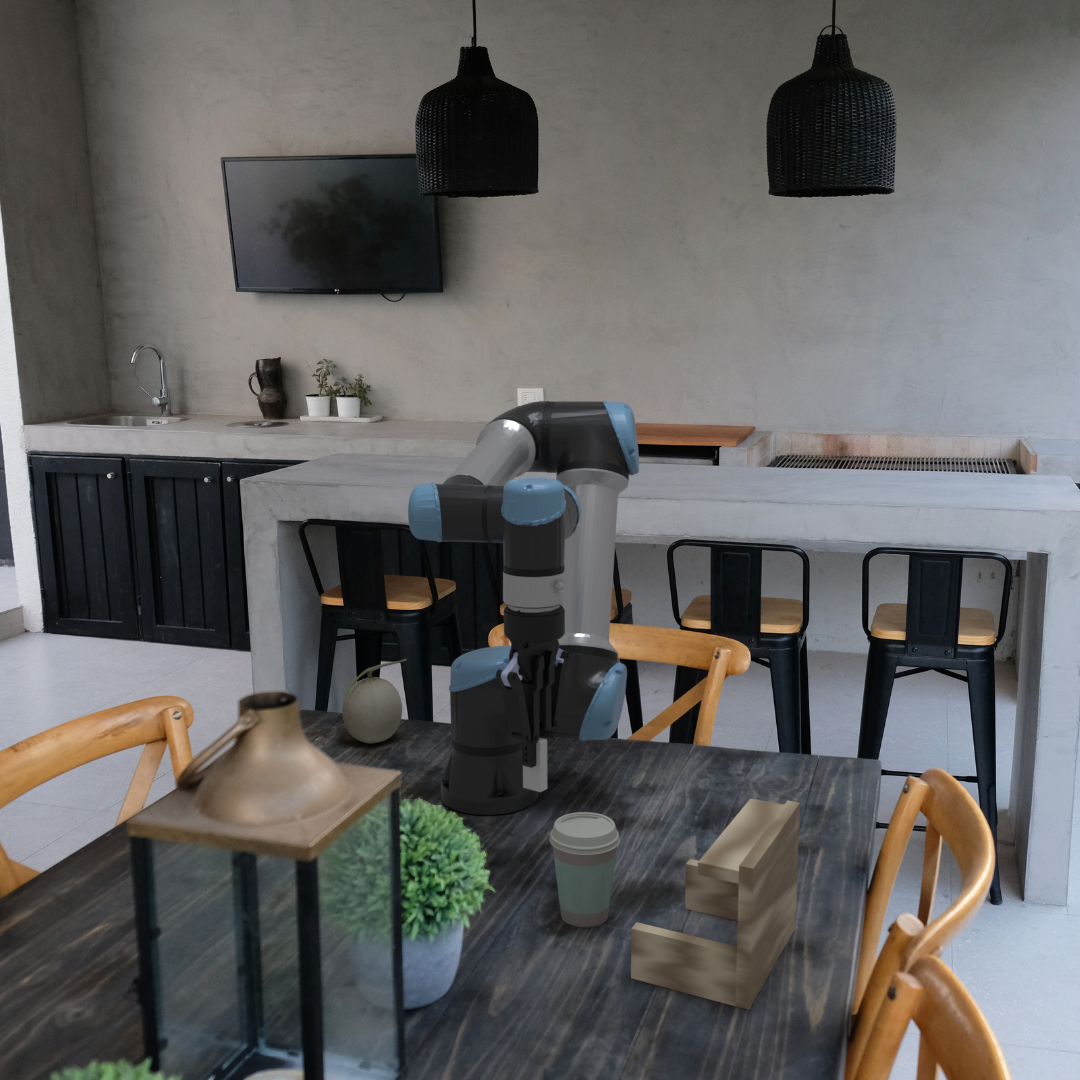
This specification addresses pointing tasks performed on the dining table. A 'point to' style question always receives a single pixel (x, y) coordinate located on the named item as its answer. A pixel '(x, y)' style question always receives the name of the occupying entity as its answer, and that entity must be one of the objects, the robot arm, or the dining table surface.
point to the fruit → (372, 707)
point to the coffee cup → (584, 866)
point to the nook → (731, 910)
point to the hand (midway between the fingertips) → (535, 787)
